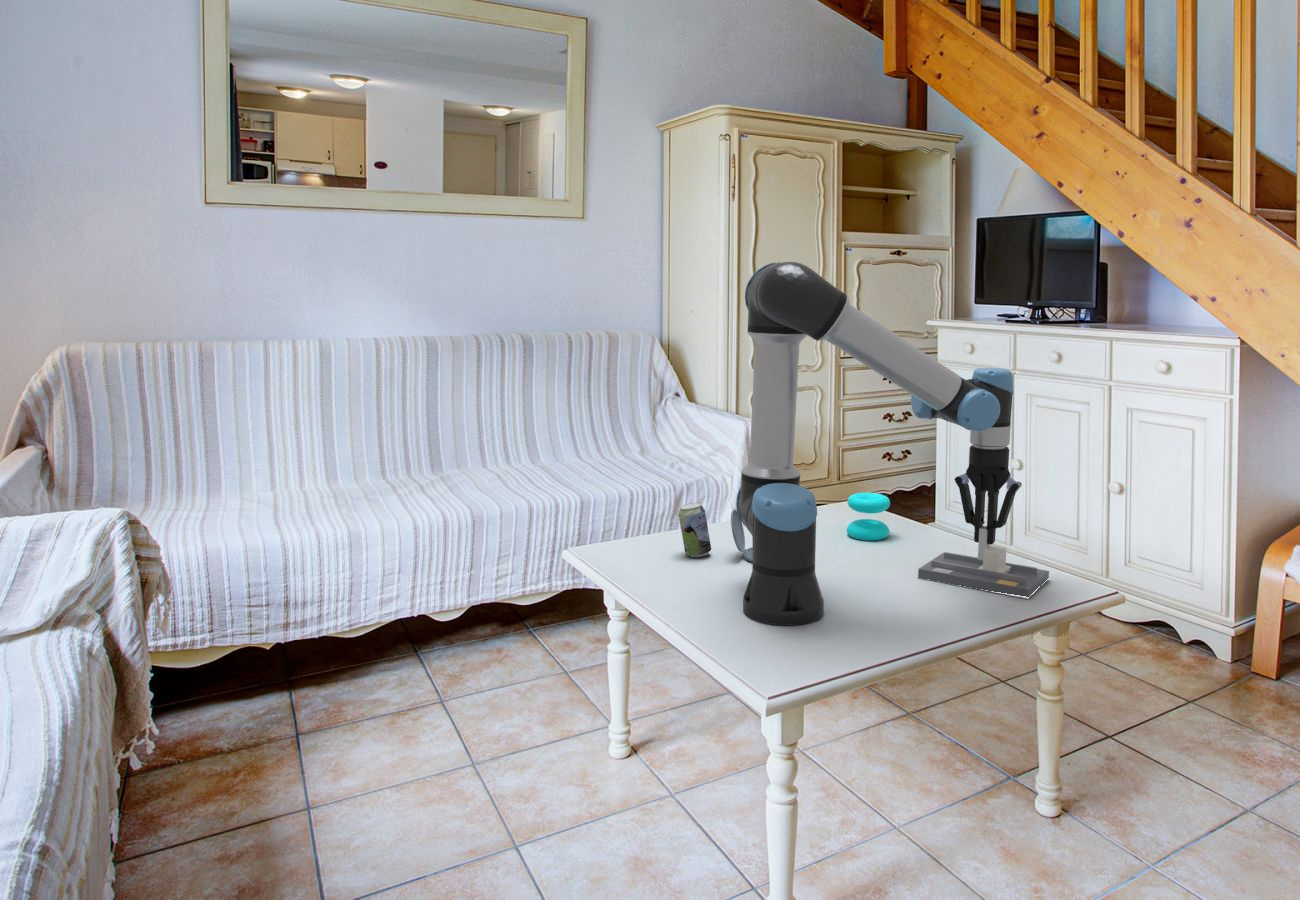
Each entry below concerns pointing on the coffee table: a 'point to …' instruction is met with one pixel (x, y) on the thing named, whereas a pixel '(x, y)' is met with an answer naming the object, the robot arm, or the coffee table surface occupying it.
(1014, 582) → the switch panel
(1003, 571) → the switch tab
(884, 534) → the donuts
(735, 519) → the pocket watch
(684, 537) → the beverage can
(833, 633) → the coffee table surface
